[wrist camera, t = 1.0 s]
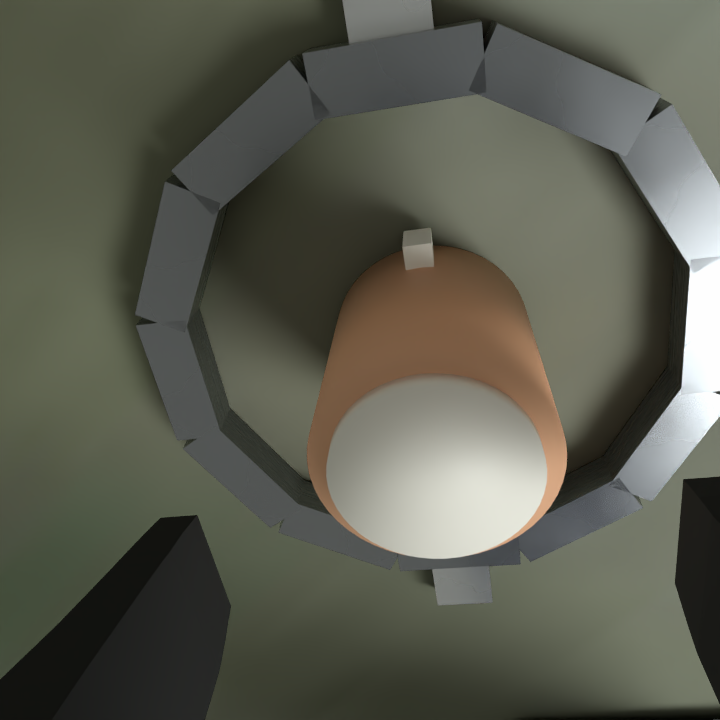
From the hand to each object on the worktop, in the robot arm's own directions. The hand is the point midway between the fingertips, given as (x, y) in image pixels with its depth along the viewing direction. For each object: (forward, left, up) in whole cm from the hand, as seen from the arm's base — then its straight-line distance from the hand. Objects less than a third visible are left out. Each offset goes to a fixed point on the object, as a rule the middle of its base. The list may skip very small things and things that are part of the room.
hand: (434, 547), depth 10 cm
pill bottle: (0, 0, -7) cm, 7 cm away
